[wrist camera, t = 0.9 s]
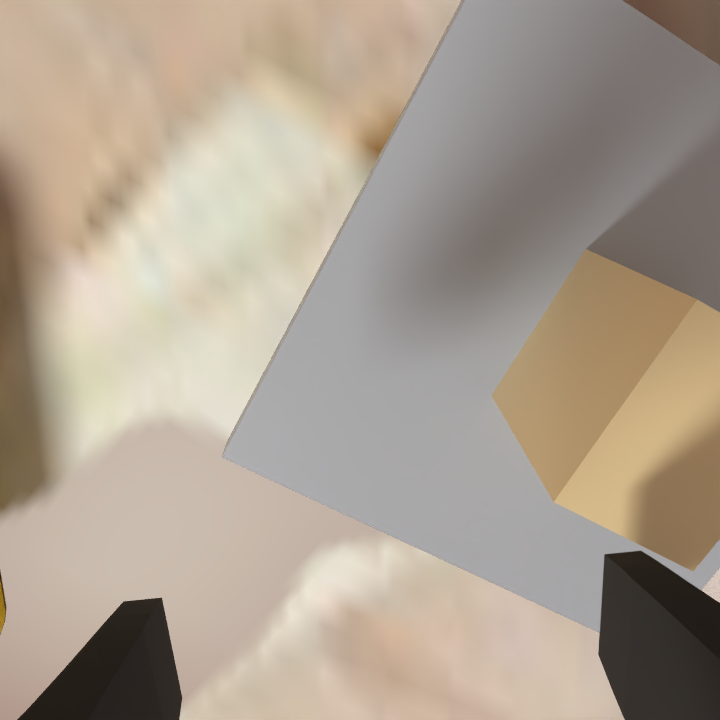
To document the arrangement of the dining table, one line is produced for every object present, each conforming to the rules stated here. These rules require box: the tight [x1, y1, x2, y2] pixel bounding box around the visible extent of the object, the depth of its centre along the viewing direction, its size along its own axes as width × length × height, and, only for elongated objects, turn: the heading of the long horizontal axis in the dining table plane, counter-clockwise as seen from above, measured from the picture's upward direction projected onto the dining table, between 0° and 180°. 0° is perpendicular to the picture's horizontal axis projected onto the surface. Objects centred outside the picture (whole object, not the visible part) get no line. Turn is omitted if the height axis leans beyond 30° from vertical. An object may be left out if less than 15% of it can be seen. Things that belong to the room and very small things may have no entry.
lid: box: [222, 0, 720, 633], centre depth 14 cm, size 13×13×6 cm
